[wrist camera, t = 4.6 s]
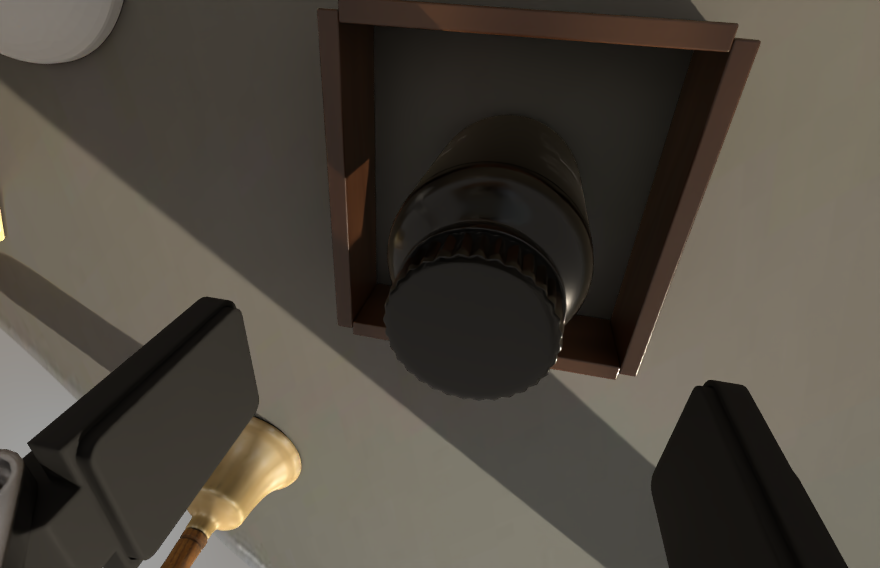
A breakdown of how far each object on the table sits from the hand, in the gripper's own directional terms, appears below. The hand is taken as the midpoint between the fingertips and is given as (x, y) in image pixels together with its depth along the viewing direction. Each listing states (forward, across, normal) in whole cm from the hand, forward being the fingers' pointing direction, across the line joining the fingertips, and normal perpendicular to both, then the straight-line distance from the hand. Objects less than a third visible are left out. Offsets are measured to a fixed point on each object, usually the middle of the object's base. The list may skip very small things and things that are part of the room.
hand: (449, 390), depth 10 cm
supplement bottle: (+15, 0, 0) cm, 15 cm away
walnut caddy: (+14, 0, 0) cm, 14 cm away
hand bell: (+14, +17, +24) cm, 33 cm away
